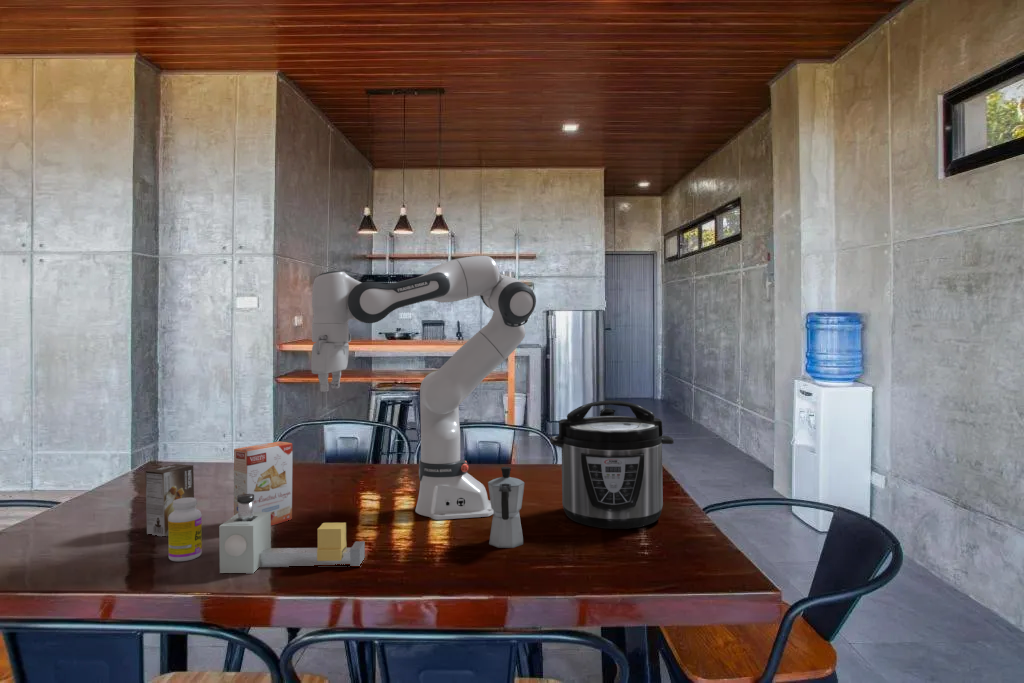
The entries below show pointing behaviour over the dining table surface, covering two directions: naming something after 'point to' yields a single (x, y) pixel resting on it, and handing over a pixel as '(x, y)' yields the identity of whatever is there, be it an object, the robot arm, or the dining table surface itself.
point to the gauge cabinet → (244, 543)
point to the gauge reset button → (245, 507)
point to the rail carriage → (331, 541)
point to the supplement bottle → (184, 530)
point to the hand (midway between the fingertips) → (330, 389)
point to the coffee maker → (506, 510)
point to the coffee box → (166, 494)
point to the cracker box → (265, 478)
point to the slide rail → (309, 556)
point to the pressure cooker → (612, 466)
